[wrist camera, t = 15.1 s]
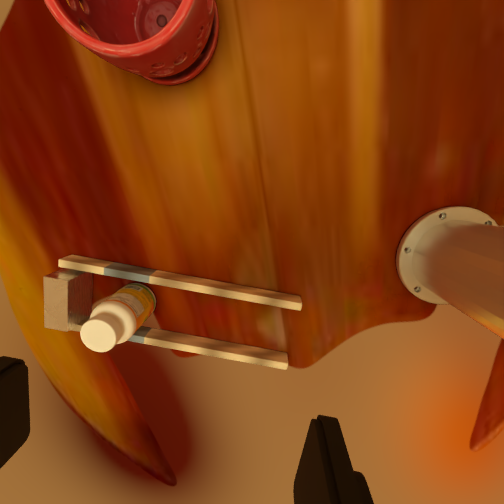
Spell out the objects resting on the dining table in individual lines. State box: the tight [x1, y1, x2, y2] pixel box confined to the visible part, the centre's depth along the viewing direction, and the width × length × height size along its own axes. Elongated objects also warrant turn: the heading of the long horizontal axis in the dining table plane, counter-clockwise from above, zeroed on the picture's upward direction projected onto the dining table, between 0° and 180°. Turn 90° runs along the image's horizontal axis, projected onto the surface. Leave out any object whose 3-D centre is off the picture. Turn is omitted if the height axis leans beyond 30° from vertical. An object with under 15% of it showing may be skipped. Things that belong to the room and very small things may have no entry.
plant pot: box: [44, 0, 219, 85], centre depth 25 cm, size 13×13×12 cm
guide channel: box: [44, 255, 302, 370], centre depth 37 cm, size 32×10×5 cm, turn 80°
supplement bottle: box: [80, 283, 156, 352], centre depth 34 cm, size 5×5×10 cm
